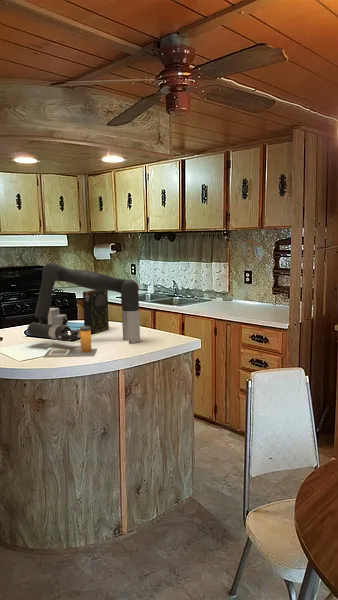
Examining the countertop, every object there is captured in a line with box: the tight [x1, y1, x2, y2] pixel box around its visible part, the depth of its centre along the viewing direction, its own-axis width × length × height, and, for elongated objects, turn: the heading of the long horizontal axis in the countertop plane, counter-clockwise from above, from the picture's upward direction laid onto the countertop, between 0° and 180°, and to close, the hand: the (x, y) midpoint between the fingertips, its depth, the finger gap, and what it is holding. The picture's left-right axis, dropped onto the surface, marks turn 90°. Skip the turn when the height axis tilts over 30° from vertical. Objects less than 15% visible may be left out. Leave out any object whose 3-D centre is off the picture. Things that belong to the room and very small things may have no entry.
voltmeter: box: [82, 289, 110, 335], centre depth 275 cm, size 16×9×25 cm, turn 148°
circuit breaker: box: [48, 307, 69, 326], centre depth 269 cm, size 8×14×15 cm, turn 79°
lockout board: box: [42, 347, 98, 359], centre depth 222 cm, size 24×14×3 cm, turn 92°
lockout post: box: [79, 325, 92, 352], centre depth 225 cm, size 5×5×12 cm
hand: (83, 336), depth 225 cm, fingers open, 8 cm apart
